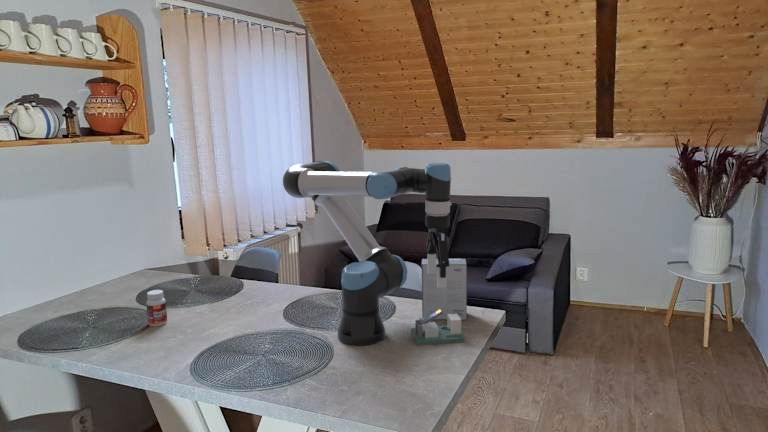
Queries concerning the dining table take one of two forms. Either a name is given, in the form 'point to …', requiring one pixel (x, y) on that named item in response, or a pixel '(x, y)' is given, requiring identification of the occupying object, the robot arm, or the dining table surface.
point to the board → (437, 339)
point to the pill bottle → (156, 308)
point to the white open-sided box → (454, 323)
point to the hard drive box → (445, 290)
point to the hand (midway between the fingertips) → (436, 280)
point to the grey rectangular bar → (430, 318)
